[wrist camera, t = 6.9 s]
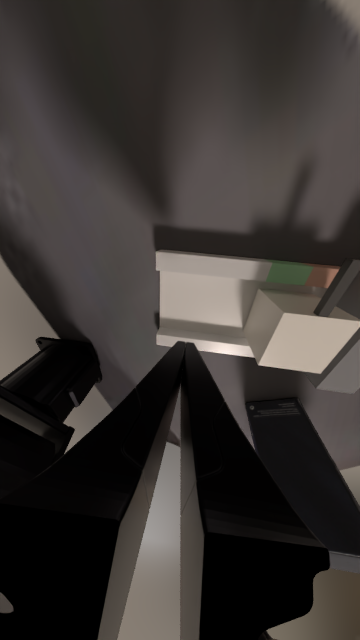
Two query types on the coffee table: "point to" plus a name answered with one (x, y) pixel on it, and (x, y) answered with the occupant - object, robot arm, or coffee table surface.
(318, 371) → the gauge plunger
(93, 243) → the coffee table surface
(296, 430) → the small box
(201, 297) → the base
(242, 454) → the robot arm
